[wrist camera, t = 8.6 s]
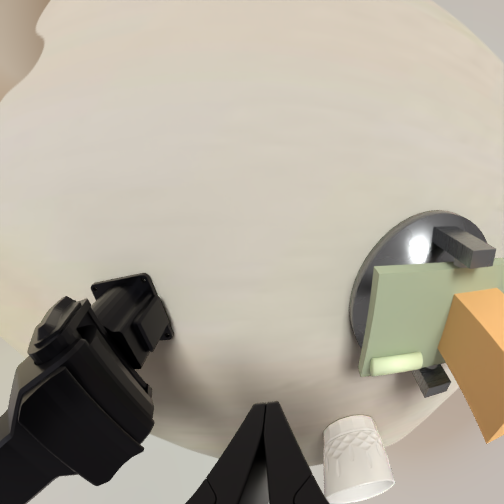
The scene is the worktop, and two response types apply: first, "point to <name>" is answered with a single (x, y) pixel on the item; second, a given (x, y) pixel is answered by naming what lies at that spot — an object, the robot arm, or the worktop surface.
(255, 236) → the worktop surface
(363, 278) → the base
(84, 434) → the robot arm
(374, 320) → the orange and green block
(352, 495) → the white cup
